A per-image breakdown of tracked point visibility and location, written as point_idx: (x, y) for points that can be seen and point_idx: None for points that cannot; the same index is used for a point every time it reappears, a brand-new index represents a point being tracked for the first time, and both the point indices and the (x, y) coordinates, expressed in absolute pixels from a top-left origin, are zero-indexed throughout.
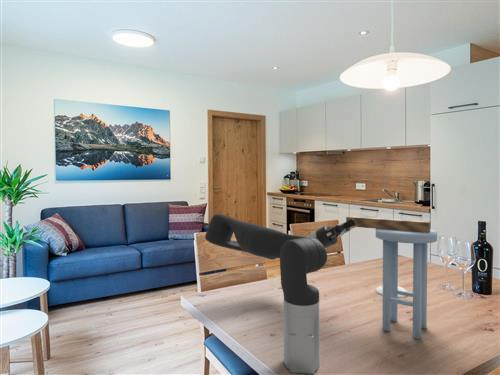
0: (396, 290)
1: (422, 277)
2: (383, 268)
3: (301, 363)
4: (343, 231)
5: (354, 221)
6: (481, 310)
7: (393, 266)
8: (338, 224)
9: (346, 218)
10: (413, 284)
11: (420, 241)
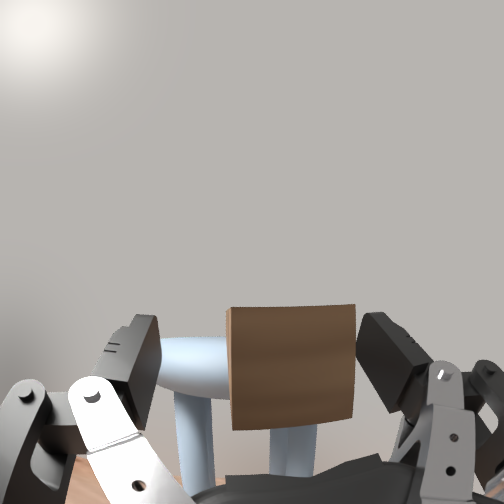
0: None
1: (213, 460)
2: (311, 476)
3: None
4: (395, 458)
5: (361, 330)
6: (80, 467)
7: (209, 486)
8: (447, 408)
9: (354, 323)
10: (286, 462)
11: None
